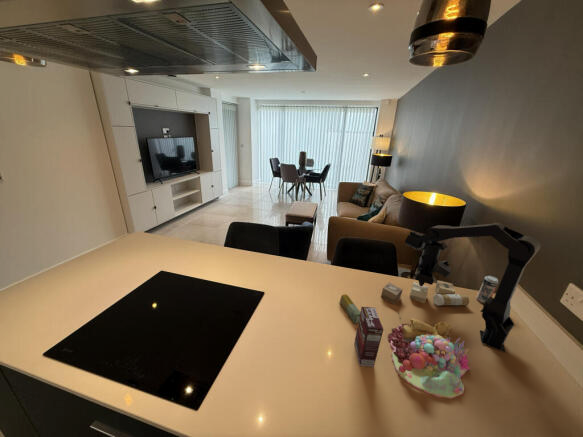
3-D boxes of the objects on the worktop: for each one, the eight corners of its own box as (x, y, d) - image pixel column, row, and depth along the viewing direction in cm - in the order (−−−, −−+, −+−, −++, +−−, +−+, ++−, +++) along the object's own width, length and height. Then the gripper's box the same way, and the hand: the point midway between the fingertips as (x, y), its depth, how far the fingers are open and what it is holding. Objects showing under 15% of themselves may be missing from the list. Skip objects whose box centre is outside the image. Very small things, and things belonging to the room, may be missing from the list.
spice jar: (477, 301, 102) (486, 279, 98) (474, 295, 106) (484, 273, 102) (490, 305, 100) (500, 283, 96) (487, 299, 104) (497, 277, 100)
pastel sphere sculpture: (381, 322, 88) (386, 303, 85) (447, 333, 85) (455, 314, 82) (399, 390, 65) (407, 367, 62) (490, 408, 62) (504, 385, 59)
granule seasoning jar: (459, 300, 103) (431, 300, 101) (463, 291, 101) (434, 292, 100) (468, 307, 98) (438, 307, 97) (471, 298, 97) (441, 299, 96)
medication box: (360, 323, 87) (363, 315, 86) (354, 324, 87) (356, 315, 85) (344, 301, 98) (346, 293, 97) (339, 301, 97) (341, 294, 96)
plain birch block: (424, 303, 100) (427, 294, 98) (409, 298, 102) (411, 288, 101) (425, 295, 104) (428, 286, 103) (410, 290, 107) (413, 281, 105)
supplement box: (353, 342, 79) (360, 305, 73) (367, 343, 79) (376, 307, 73) (358, 366, 71) (367, 327, 65) (374, 368, 71) (384, 328, 65)
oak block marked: (452, 300, 102) (455, 291, 100) (436, 296, 104) (440, 287, 102) (449, 292, 107) (452, 283, 106) (434, 289, 109) (437, 280, 108)
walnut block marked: (393, 304, 98) (396, 294, 96) (380, 297, 102) (383, 287, 100) (400, 298, 102) (402, 288, 100) (387, 291, 106) (389, 282, 104)
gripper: (454, 271, 84) (441, 305, 90) (452, 251, 99) (442, 281, 105) (420, 261, 90) (410, 294, 95) (423, 244, 104) (415, 273, 110)
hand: (420, 285), depth 101 cm, fingers closed
